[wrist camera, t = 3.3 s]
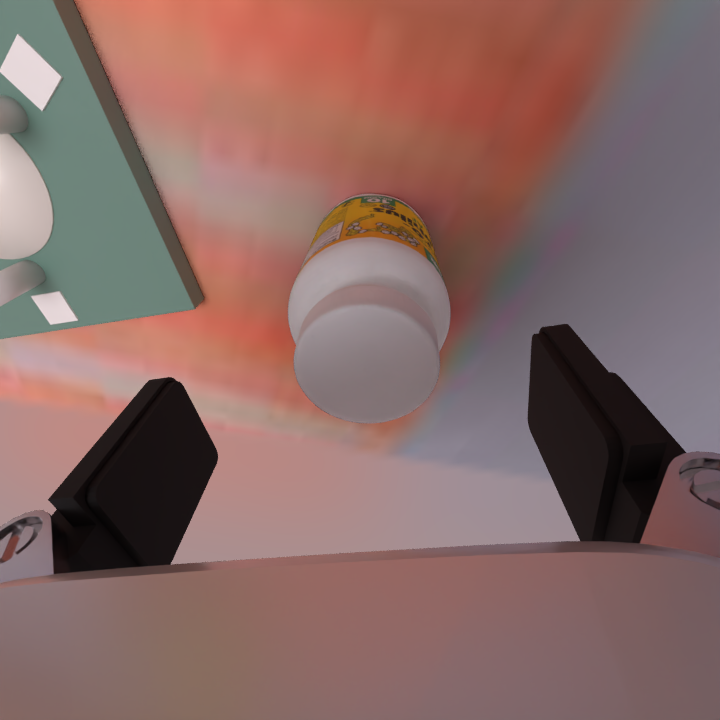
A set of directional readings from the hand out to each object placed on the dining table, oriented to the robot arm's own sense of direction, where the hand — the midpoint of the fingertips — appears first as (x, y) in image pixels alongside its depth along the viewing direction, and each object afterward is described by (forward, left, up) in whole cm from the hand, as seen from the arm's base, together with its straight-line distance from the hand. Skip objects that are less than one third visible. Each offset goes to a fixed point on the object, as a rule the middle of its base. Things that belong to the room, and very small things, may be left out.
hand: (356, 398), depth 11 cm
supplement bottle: (0, -1, -10) cm, 10 cm away
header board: (+16, -7, -10) cm, 20 cm away
